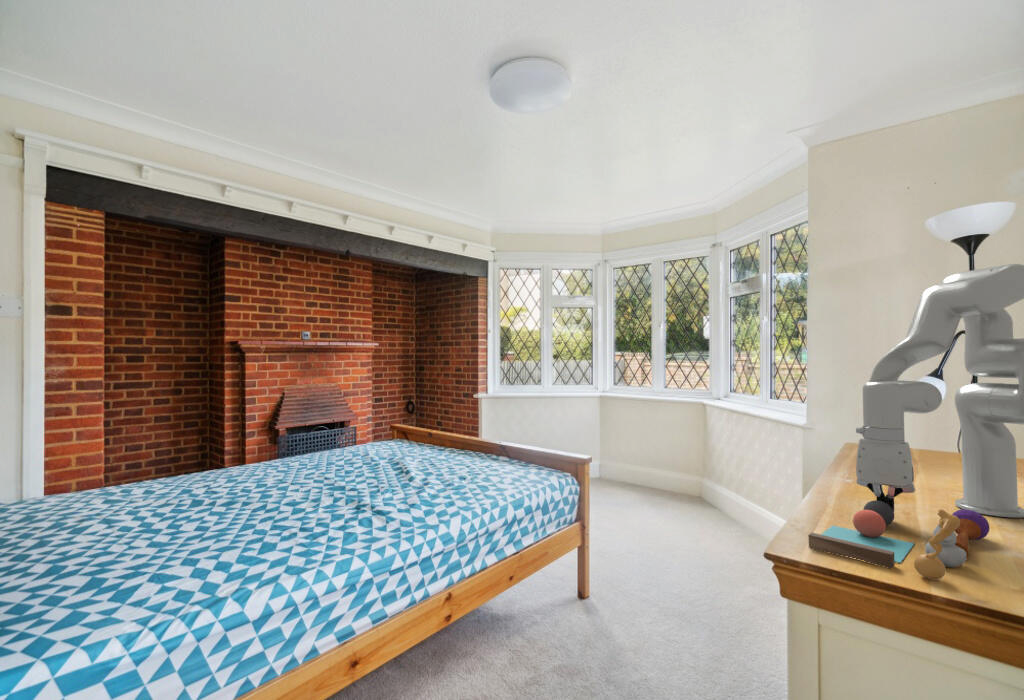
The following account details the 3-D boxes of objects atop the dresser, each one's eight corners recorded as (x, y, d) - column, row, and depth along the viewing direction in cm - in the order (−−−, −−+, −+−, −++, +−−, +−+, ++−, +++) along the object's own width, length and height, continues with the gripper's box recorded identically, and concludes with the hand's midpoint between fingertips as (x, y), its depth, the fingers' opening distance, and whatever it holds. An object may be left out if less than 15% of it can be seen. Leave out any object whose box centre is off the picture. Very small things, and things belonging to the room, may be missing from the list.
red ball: (856, 503, 102) (849, 511, 99) (887, 509, 98) (881, 517, 95) (857, 528, 102) (850, 537, 99) (889, 535, 98) (883, 544, 95)
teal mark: (832, 526, 105) (832, 525, 105) (914, 544, 94) (914, 543, 94) (812, 541, 95) (812, 540, 95) (900, 563, 85) (900, 562, 85)
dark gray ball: (860, 496, 106) (859, 521, 105) (891, 501, 102) (890, 527, 101) (867, 499, 110) (866, 524, 108) (897, 504, 105) (897, 530, 104)
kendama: (931, 533, 90) (948, 505, 103) (940, 565, 89) (956, 533, 102) (973, 536, 85) (986, 506, 98) (983, 570, 85) (994, 535, 97)
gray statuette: (922, 564, 85) (921, 519, 85) (930, 555, 89) (928, 512, 89) (963, 574, 81) (962, 527, 81) (969, 564, 85) (968, 519, 85)
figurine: (922, 568, 83) (920, 500, 83) (969, 581, 78) (966, 508, 79) (906, 580, 78) (904, 508, 79) (955, 595, 73) (953, 517, 74)
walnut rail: (812, 545, 94) (811, 532, 94) (894, 565, 84) (894, 551, 84) (808, 547, 92) (808, 534, 93) (892, 569, 83) (891, 554, 83)
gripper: (841, 432, 113) (842, 510, 112) (923, 440, 101) (925, 526, 101) (849, 430, 117) (851, 503, 117) (928, 436, 106) (931, 518, 106)
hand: (885, 513), depth 109 cm, fingers closed
